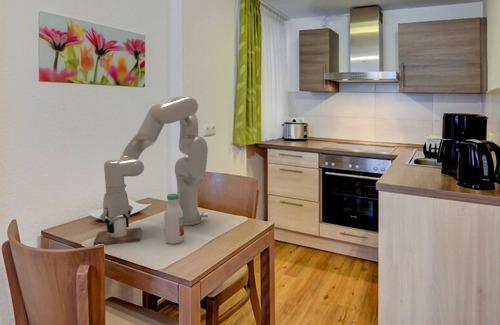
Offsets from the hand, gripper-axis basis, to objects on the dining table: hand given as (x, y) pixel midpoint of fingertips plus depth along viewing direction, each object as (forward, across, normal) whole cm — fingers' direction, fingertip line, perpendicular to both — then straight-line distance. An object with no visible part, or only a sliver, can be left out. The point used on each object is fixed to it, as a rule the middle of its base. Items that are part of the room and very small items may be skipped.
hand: (118, 229), depth 150 cm
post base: (+4, 0, 0) cm, 4 cm away
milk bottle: (+4, -9, +23) cm, 25 cm away
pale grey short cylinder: (+2, 0, 0) cm, 2 cm away
